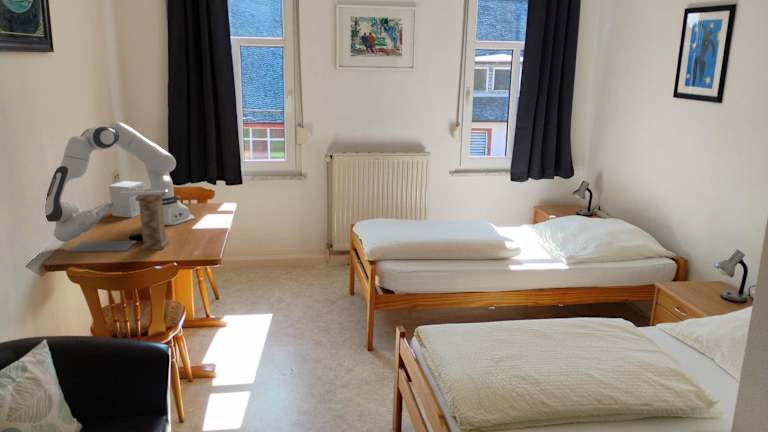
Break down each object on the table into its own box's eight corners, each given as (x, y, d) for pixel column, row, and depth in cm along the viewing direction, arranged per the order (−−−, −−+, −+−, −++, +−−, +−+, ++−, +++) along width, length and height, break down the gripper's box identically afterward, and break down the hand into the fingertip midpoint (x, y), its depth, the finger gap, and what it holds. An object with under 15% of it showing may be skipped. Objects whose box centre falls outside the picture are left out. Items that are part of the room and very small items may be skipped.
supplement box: (147, 211, 351) (143, 182, 346) (132, 217, 338) (128, 187, 334) (127, 210, 354) (123, 180, 349) (111, 216, 342) (108, 185, 337)
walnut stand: (141, 249, 286) (135, 197, 279) (147, 242, 296) (142, 192, 289) (163, 249, 287) (157, 197, 280) (169, 242, 296) (164, 192, 289)
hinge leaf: (119, 196, 282) (119, 191, 281) (122, 194, 285) (122, 189, 285) (167, 195, 283) (166, 191, 282) (169, 193, 287) (168, 189, 286)
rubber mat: (69, 252, 282) (69, 251, 282) (81, 242, 296) (81, 241, 295) (126, 251, 284) (126, 250, 284) (136, 241, 297) (136, 240, 297)
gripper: (72, 221, 275) (97, 205, 274) (90, 209, 295) (114, 194, 293) (81, 232, 277) (106, 217, 275) (98, 219, 296) (122, 205, 295)
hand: (110, 205), depth 285 cm, fingers open, 8 cm apart
